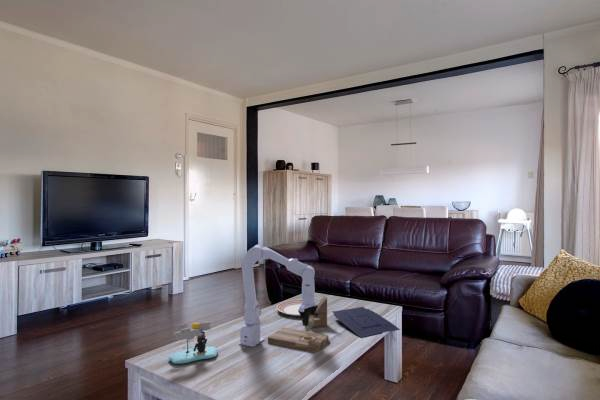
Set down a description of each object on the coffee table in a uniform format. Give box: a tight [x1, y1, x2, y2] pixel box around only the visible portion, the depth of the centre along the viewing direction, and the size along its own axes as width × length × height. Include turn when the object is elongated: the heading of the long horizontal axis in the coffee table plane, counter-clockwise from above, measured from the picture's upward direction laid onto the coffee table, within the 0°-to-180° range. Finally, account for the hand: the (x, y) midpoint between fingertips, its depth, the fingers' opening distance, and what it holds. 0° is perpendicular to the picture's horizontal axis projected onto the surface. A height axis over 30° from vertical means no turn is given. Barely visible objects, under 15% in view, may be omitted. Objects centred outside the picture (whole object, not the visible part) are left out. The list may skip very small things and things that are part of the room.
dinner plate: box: [276, 299, 320, 317], centre depth 217 cm, size 27×27×3 cm
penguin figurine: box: [168, 321, 219, 365], centre depth 155 cm, size 20×11×15 cm, turn 113°
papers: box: [331, 306, 401, 338], centre depth 195 cm, size 24×30×4 cm
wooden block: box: [312, 296, 328, 328], centre depth 193 cm, size 4×11×18 cm, turn 113°
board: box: [267, 327, 329, 353], centre depth 172 cm, size 14×24×2 cm, turn 64°
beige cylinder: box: [302, 314, 315, 332], centre depth 169 cm, size 5×5×6 cm
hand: (308, 323), depth 169 cm, fingers closed on beige cylinder, 5 cm apart
